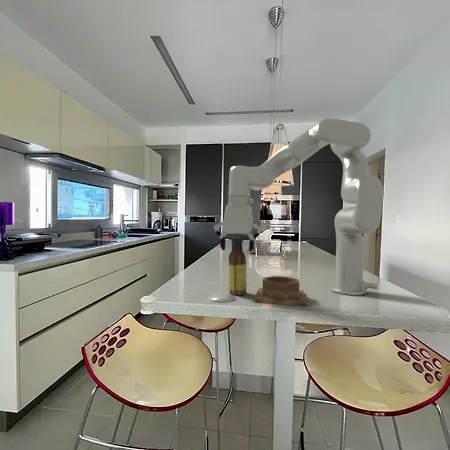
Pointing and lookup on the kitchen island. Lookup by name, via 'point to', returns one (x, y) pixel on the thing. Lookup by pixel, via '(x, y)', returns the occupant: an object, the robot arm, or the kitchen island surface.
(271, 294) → the holder
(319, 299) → the kitchen island surface
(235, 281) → the sauce bottle
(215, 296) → the coaster
